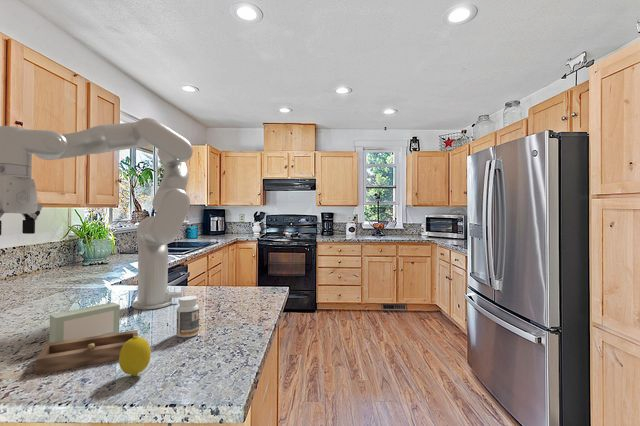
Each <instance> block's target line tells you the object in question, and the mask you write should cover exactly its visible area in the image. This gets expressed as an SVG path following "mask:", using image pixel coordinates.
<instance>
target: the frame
mask: <svg viewBox="0 0 640 426" xmlns="http://www.w3.org/2000/svg"><path fill="white" fill-rule="evenodd" d="M120 309H121V304H118V303H116V302H109V303H103V304H99V305H92V306H87V307H83V308H77V309H72V310H67V311H61V312H57V313H53V314H49V335H48V336H49V337H48V338H49V339H48V340H49V342H48V343H53V342H59V341H66V340H73V339H80V338H86V337H93V336H100V335H106V334H113V333H120V320H121V319H120V316H121V315H120V312H121V310H120Z"/></svg>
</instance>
